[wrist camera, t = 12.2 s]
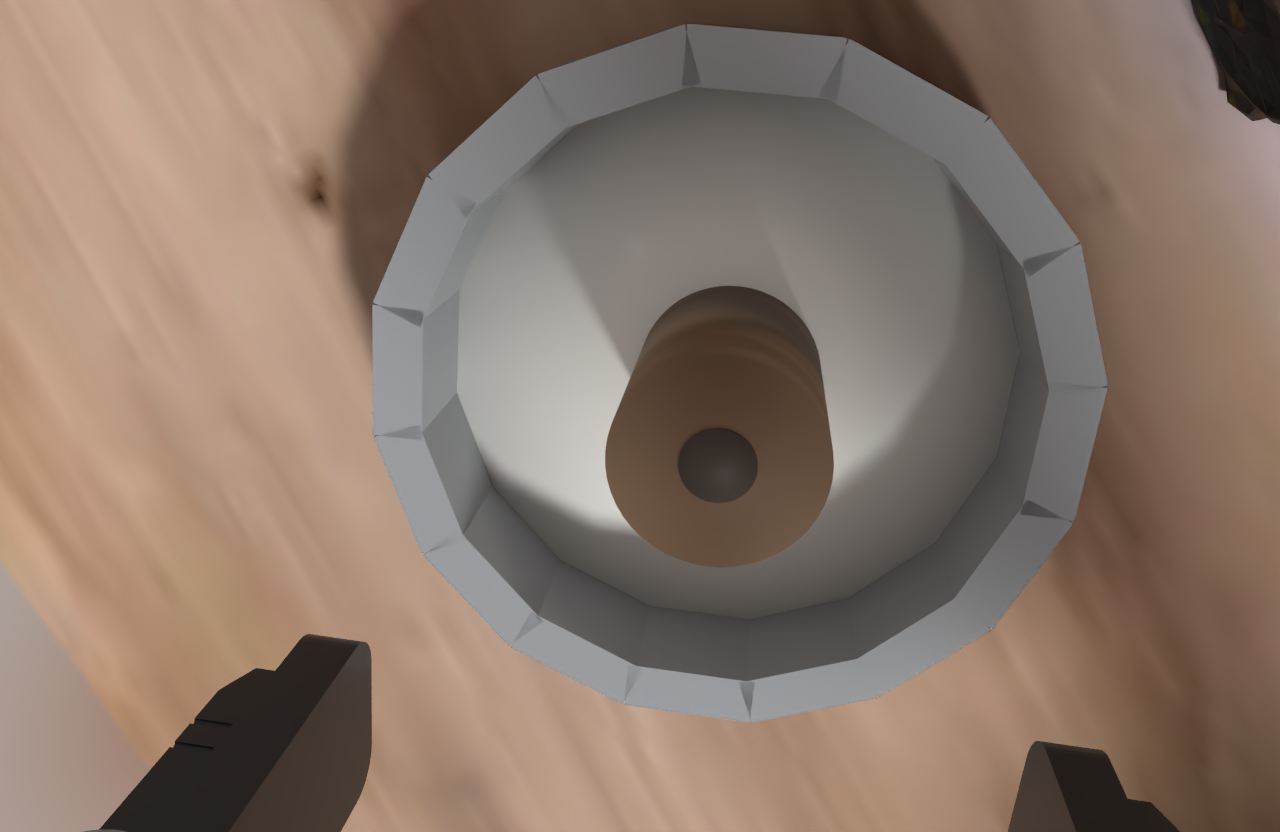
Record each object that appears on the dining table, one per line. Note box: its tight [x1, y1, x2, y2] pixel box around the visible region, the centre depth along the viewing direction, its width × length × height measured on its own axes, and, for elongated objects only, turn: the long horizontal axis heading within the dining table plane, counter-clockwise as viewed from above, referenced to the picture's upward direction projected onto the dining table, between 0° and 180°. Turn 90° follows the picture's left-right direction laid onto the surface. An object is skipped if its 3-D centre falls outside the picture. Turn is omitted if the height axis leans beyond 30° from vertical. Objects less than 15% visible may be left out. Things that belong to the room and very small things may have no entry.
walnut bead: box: [605, 286, 834, 567], centre depth 24 cm, size 5×5×6 cm
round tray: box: [372, 24, 1108, 722], centre depth 26 cm, size 16×16×4 cm
